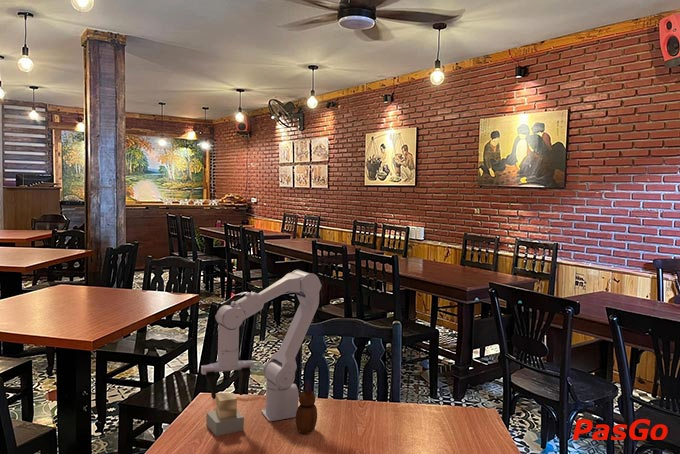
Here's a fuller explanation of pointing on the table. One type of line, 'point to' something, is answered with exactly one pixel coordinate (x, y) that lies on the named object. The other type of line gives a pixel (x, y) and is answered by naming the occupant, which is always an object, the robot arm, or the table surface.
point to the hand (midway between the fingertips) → (227, 395)
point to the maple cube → (226, 405)
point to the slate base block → (224, 423)
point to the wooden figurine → (306, 411)
